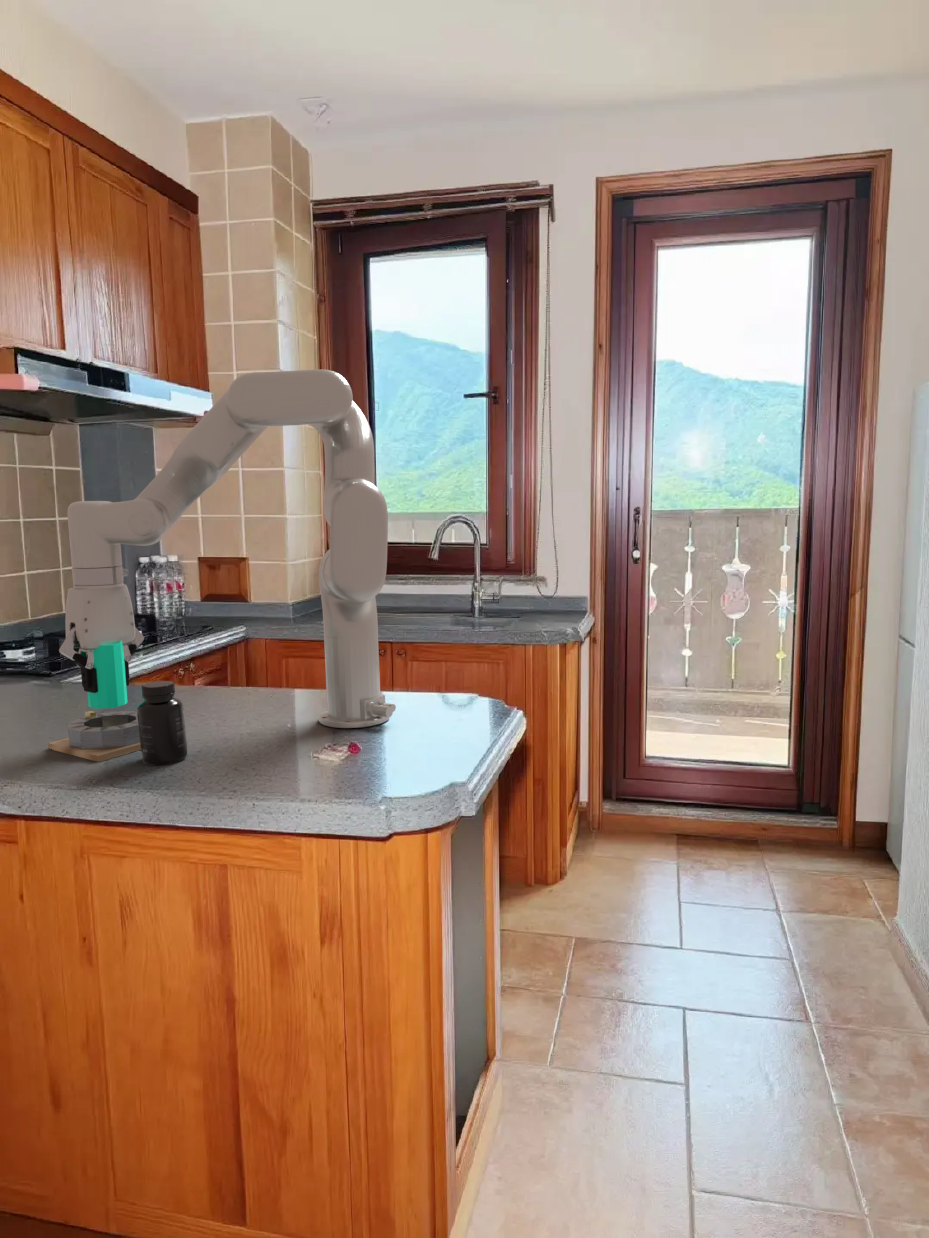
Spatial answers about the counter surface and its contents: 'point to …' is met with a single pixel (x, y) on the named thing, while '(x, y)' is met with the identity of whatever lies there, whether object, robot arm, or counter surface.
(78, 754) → the oak board
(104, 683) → the candle
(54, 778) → the counter surface
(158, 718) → the supplement bottle
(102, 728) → the steel collar
